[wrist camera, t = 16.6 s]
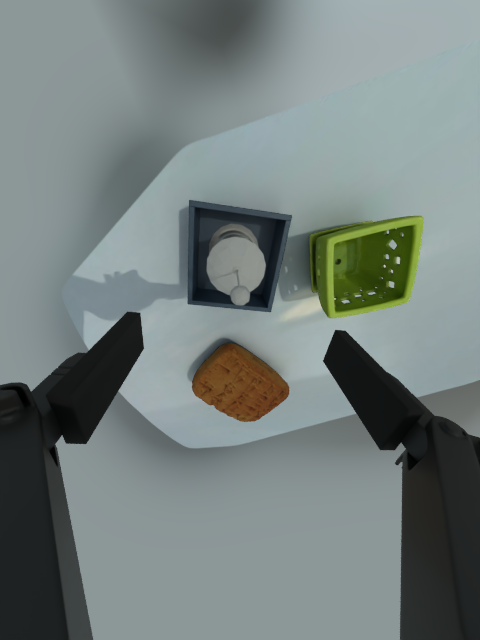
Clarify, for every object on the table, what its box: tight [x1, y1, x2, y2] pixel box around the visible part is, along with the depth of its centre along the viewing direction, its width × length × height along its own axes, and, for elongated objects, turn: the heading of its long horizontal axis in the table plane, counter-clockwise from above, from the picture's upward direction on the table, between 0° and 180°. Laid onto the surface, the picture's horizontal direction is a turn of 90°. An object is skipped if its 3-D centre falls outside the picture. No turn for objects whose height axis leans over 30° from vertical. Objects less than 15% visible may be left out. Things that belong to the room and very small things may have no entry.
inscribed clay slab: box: [192, 343, 289, 422], centre depth 53 cm, size 22×17×8 cm
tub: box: [188, 200, 292, 312], centre depth 38 cm, size 17×16×8 cm
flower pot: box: [309, 216, 423, 318], centre depth 37 cm, size 14×14×13 cm
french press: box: [207, 224, 266, 306], centre depth 30 cm, size 10×12×25 cm
